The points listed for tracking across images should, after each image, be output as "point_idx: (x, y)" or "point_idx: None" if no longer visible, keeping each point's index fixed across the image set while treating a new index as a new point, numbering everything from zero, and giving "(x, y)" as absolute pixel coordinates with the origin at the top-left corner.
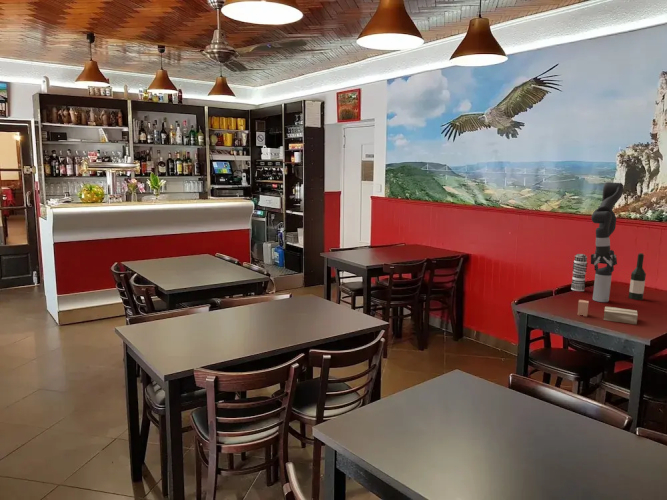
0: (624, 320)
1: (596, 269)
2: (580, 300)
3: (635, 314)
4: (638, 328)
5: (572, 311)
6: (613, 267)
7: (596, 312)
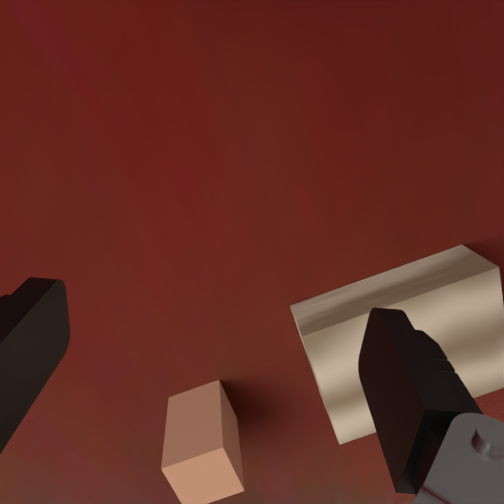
0: None
1: (49, 376)
2: (177, 478)
3: (499, 370)
4: (492, 405)
5: (129, 392)
6: (467, 401)
7: (236, 295)
